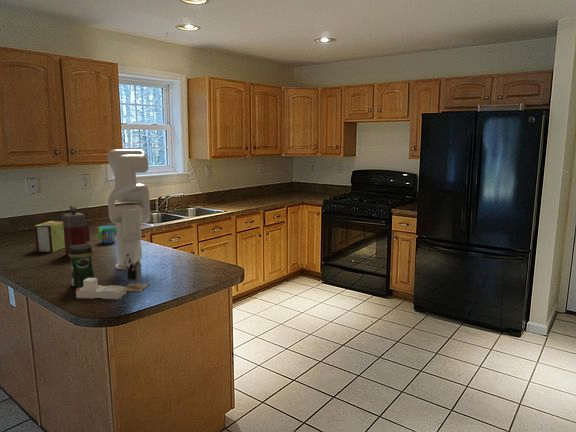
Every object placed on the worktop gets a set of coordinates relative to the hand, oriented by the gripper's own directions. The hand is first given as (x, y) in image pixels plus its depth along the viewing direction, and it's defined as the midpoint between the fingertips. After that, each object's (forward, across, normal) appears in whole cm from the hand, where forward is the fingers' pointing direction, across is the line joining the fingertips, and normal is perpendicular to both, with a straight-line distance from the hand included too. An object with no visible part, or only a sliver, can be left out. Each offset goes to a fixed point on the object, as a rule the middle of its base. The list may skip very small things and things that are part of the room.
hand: (134, 277), depth 192 cm
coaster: (+5, 0, 0) cm, 5 cm away
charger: (+1, 0, 0) cm, 1 cm away
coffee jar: (+5, -3, -25) cm, 26 cm away
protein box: (+5, -65, -77) cm, 101 cm away
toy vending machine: (+5, -54, -55) cm, 77 cm away
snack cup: (+5, -84, -52) cm, 99 cm away
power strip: (+5, +10, -10) cm, 15 cm away
